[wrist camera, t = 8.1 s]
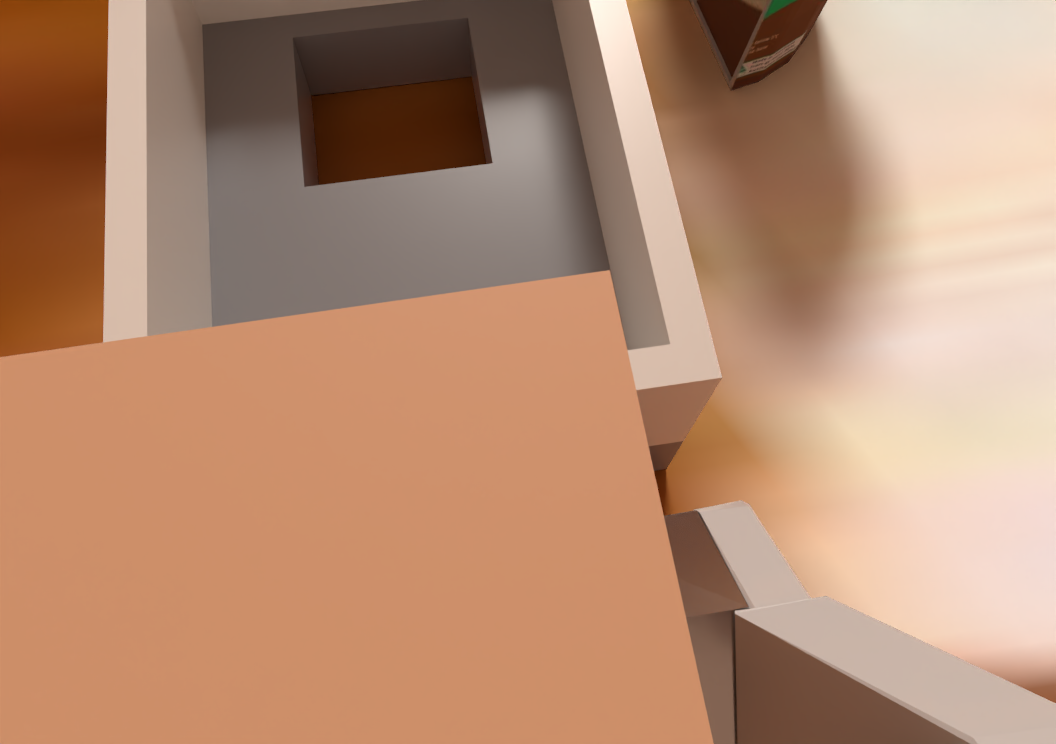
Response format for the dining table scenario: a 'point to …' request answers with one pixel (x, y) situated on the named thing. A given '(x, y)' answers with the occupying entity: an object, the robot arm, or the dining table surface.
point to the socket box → (395, 201)
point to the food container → (755, 34)
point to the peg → (343, 533)
